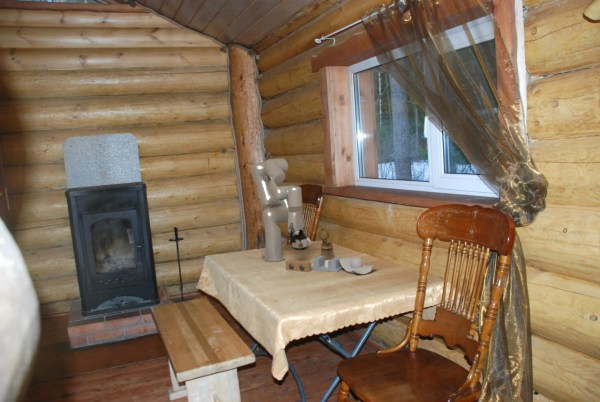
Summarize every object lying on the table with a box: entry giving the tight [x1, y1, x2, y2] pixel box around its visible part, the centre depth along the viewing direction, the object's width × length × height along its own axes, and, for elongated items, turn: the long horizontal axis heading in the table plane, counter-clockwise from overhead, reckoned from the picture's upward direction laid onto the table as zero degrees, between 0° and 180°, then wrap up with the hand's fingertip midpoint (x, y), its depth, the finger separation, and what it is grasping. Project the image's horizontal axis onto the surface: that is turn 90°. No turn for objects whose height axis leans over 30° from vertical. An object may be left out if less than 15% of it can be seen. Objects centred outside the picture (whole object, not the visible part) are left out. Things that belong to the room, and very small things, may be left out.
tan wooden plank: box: [285, 259, 312, 273], centre depth 259 cm, size 14×4×5 cm, turn 60°
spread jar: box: [291, 231, 312, 251], centre depth 316 cm, size 12×11×12 cm
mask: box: [339, 257, 377, 275], centre depth 252 cm, size 20×8×15 cm
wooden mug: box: [318, 228, 335, 261], centre depth 276 cm, size 9×14×18 cm, turn 11°
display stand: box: [311, 255, 345, 273], centre depth 259 cm, size 16×10×6 cm, turn 62°
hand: (297, 240), depth 257 cm, fingers open, 9 cm apart
